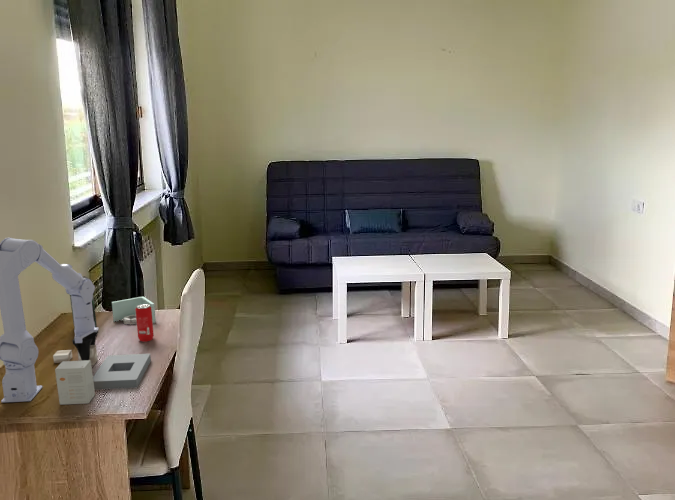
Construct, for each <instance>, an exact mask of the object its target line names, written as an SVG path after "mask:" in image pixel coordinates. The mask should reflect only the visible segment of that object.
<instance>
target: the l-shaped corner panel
mask: <svg viewBox="0 0 675 500" xmlns="http://www.w3.org/2000/svg"><path fill="white" fill-rule="evenodd" d="M141 304H149V305H150V307H151V310H152V321H153V324H156V323H157V322H156V321H157V320H156V309H155V306H156V305H155V303H154V302H152V301H151V300H149V299H148V298H146V297H145V296H138V297H132V298H128V299H122V300H117V301H116V300H115V301H111V308H112V318H113V319H112V321H113V323H116V322H120V321H119V320H121V321H123V322H122V323H123V324H124V325H127V324H130V326H131V324H132V325H137V321H136V310H135V309H136V306H138V305H141ZM122 319H123V320H122ZM115 321H116V322H115ZM155 322H156V323H155Z"/></svg>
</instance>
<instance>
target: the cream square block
mask: <svg viewBox="0 0 675 500" xmlns="http://www.w3.org/2000/svg"><path fill="white" fill-rule="evenodd" d="M97 351H98V350H97V345H96V344H95V345H90V358H89V360H91V366H95V364H96V363H97V361H99V360H98V352H97ZM77 358H78V360H77V361H82V360H81V357H80V355H79V352H78V351H77ZM84 361H85V360H84Z"/></svg>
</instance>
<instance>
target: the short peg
mask: <svg viewBox="0 0 675 500" xmlns="http://www.w3.org/2000/svg"><path fill="white" fill-rule="evenodd" d="M72 351H73V349H66V350H65V349H64V350H63V349H62V350H56V352H55V353H54V354H53V355H52V358H53V364H61V362H63V361H71V359H73V352H72Z"/></svg>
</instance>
